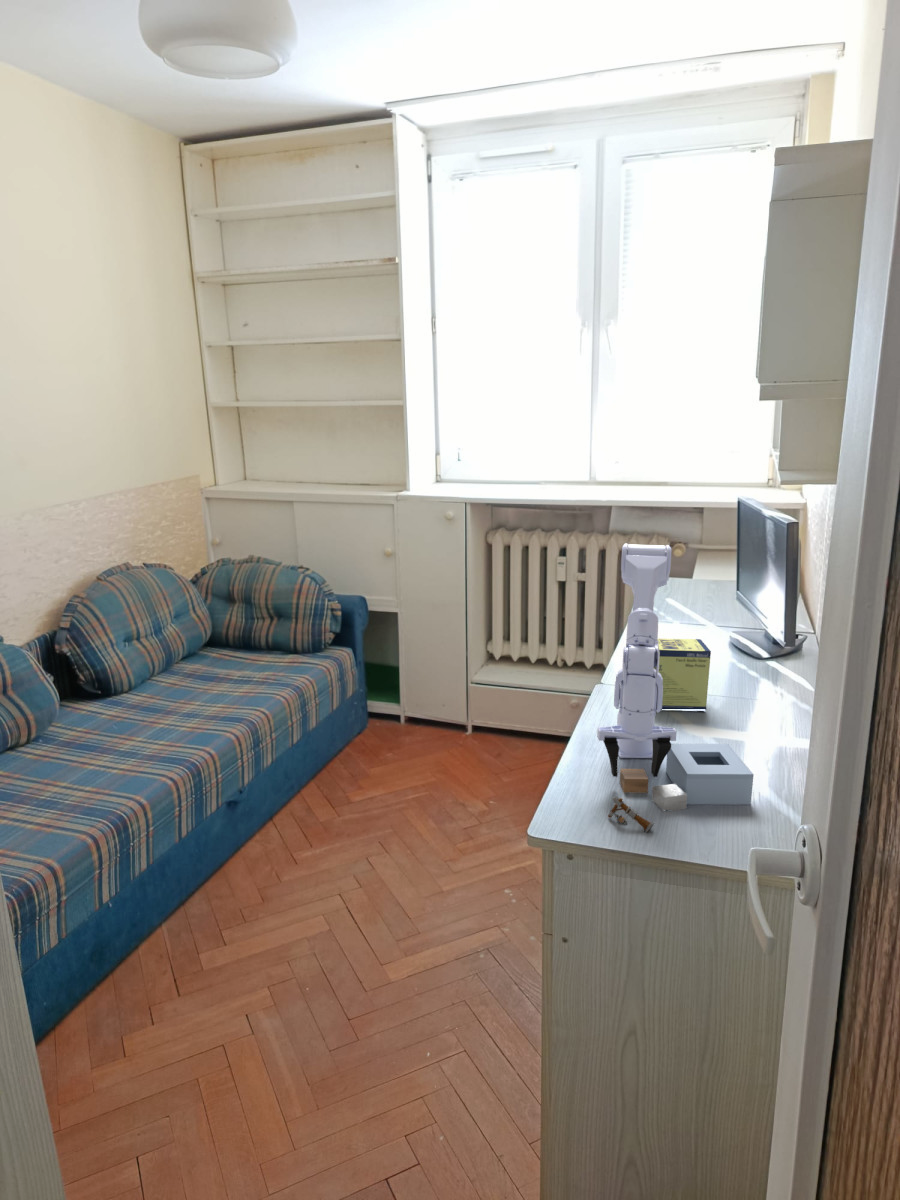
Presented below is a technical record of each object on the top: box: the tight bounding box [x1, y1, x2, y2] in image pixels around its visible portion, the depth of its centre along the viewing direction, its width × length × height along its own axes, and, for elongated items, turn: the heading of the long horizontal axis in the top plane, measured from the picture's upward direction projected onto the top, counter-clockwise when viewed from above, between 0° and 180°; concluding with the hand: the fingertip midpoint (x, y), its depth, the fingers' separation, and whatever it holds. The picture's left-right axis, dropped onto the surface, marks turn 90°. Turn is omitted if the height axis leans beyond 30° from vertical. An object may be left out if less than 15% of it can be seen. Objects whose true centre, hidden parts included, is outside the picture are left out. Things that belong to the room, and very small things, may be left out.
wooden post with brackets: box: [607, 796, 655, 833], centre depth 142 cm, size 2×8×4 cm, turn 52°
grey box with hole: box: [665, 743, 755, 806], centre depth 156 cm, size 14×12×6 cm
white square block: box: [651, 783, 688, 811], centre depth 149 cm, size 4×4×3 cm
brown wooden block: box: [619, 768, 649, 794], centre depth 156 cm, size 4×4×3 cm
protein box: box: [654, 638, 712, 710], centre depth 200 cm, size 10×16×16 cm
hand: (634, 774), depth 156 cm, fingers open, 7 cm apart
